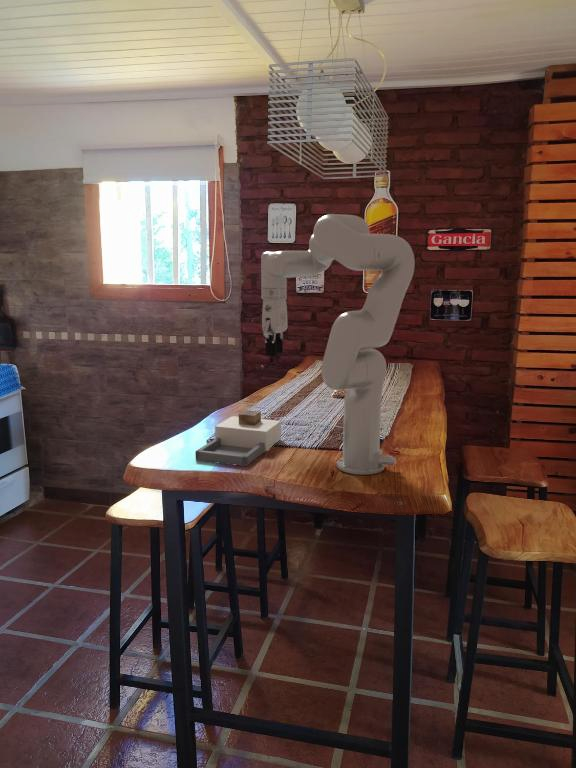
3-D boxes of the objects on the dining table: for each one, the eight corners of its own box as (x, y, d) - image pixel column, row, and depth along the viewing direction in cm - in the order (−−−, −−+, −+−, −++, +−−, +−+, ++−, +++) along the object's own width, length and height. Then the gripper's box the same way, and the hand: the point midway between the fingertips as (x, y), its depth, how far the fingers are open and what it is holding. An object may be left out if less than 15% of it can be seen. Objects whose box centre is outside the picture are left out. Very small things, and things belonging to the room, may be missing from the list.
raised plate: (280, 439, 182) (280, 420, 181) (266, 452, 171) (266, 431, 169) (232, 434, 187) (232, 416, 186) (215, 445, 176) (215, 426, 175)
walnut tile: (260, 421, 180) (260, 411, 179) (254, 425, 175) (254, 415, 175) (245, 419, 182) (245, 410, 181) (238, 424, 177) (238, 414, 176)
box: (264, 451, 171) (264, 443, 170) (246, 466, 159) (246, 457, 158) (216, 446, 176) (216, 437, 175) (195, 460, 164) (195, 451, 163)
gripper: (275, 296, 169) (275, 359, 173) (295, 292, 185) (295, 351, 189) (251, 295, 172) (251, 358, 176) (272, 292, 188) (272, 349, 191)
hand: (274, 353), depth 182 cm, fingers open, 4 cm apart
